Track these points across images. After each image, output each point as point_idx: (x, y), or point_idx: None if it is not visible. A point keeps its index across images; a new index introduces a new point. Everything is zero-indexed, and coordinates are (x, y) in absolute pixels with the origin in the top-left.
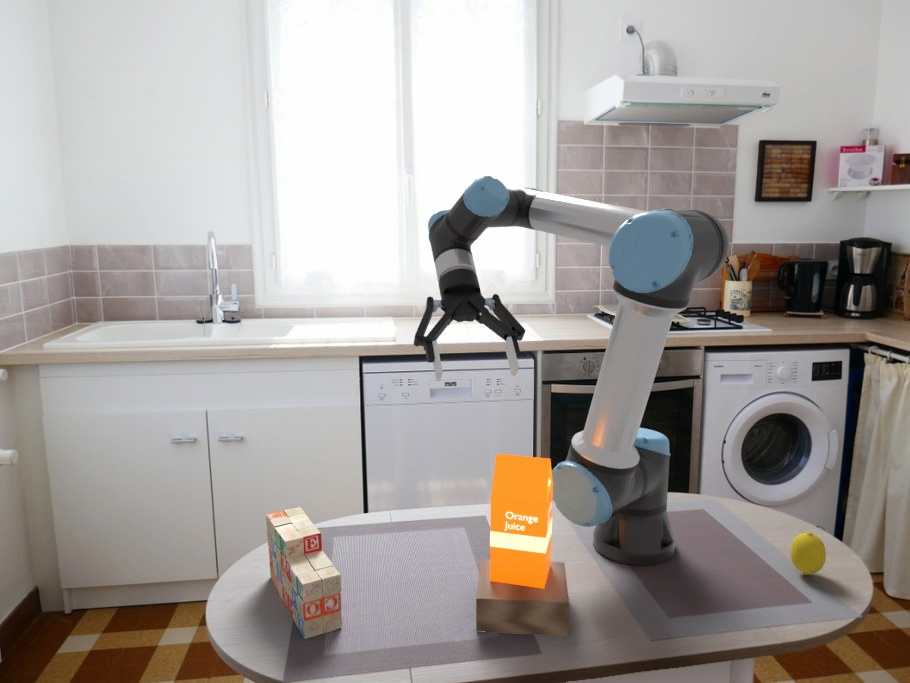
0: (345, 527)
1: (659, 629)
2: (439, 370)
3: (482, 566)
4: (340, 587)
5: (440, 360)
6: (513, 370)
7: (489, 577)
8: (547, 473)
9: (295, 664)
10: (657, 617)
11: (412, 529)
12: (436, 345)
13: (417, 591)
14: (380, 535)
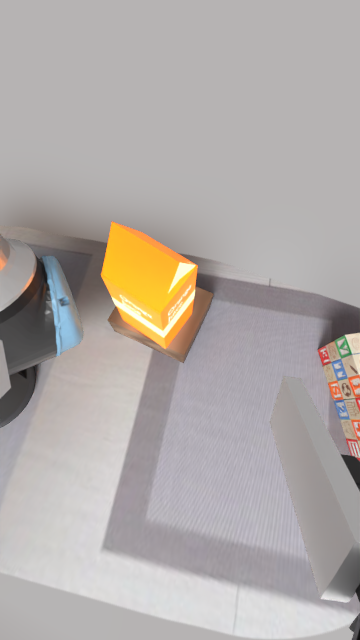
0: (307, 593)
1: (76, 262)
2: (297, 382)
3: (188, 341)
4: (337, 339)
5: (300, 414)
6: (4, 362)
7: (189, 320)
8: (124, 226)
9: (353, 317)
10: (66, 274)
11: (214, 542)
12: (345, 502)
13: (242, 382)
14: (260, 540)
